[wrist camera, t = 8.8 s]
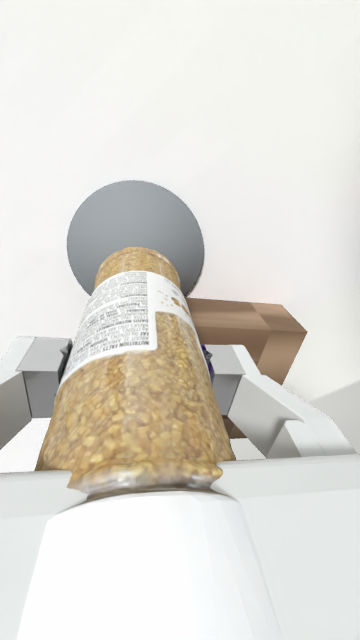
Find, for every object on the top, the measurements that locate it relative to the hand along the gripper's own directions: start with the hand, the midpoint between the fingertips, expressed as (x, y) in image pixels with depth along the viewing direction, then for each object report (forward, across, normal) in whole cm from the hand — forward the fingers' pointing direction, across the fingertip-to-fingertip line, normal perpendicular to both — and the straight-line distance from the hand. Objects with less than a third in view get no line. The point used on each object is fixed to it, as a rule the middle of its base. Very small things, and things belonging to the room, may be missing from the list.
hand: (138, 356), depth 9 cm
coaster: (+11, 0, 0) cm, 11 cm away
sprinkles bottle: (+6, 0, 0) cm, 6 cm away
